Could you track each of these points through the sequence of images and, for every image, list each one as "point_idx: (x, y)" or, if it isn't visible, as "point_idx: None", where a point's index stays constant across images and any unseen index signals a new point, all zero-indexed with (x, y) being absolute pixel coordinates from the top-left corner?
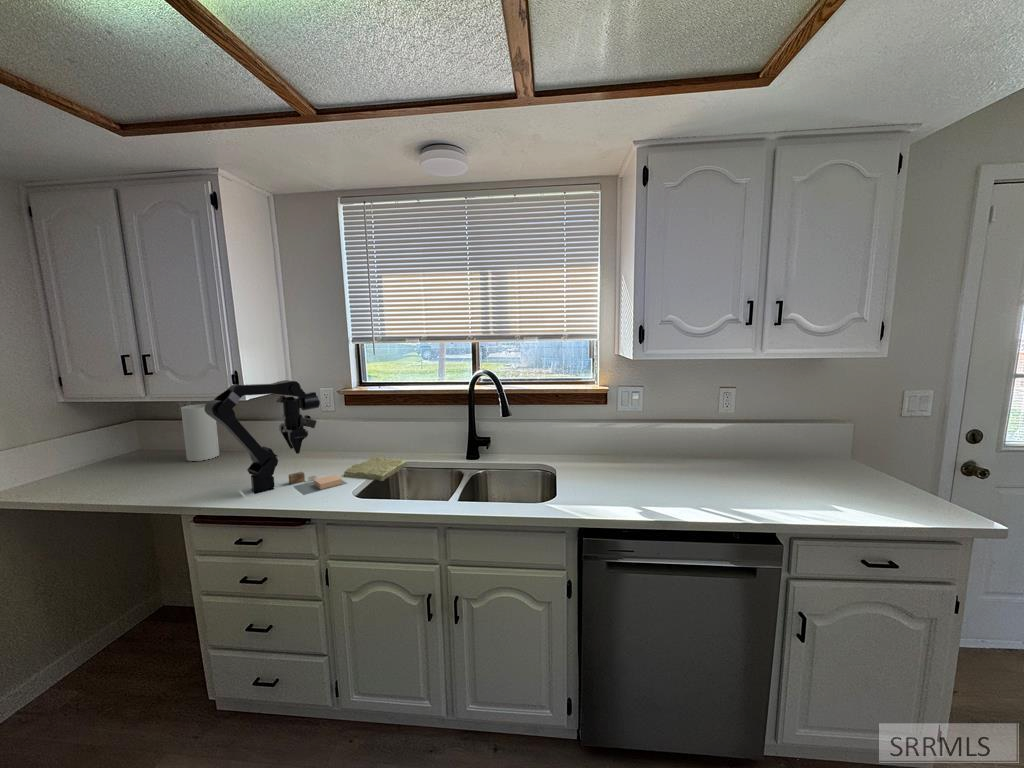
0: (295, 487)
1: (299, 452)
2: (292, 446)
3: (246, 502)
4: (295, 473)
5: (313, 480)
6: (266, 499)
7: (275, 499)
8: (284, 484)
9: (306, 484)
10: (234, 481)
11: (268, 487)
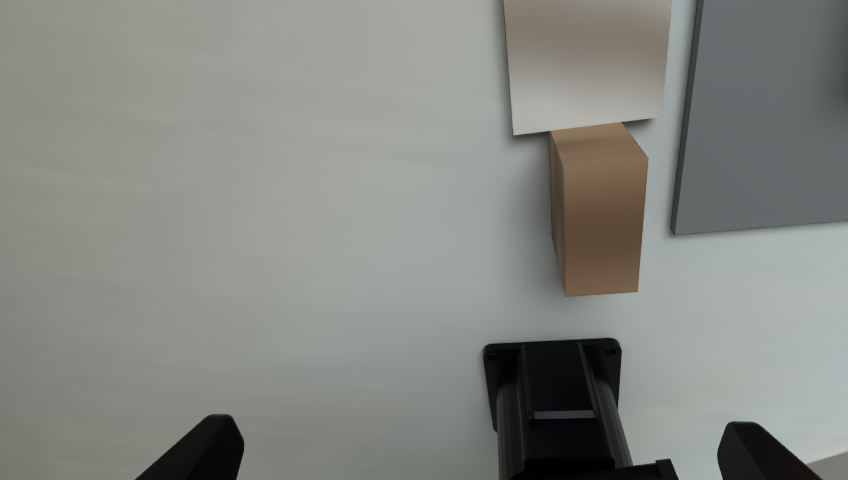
0: (731, 223)
1: (767, 432)
2: (214, 459)
3: (705, 461)
4: (582, 240)
5: (665, 29)
6: (766, 393)
7: (830, 359)
8: (521, 265)
9: (741, 124)
10: (251, 450)
11: (606, 385)
